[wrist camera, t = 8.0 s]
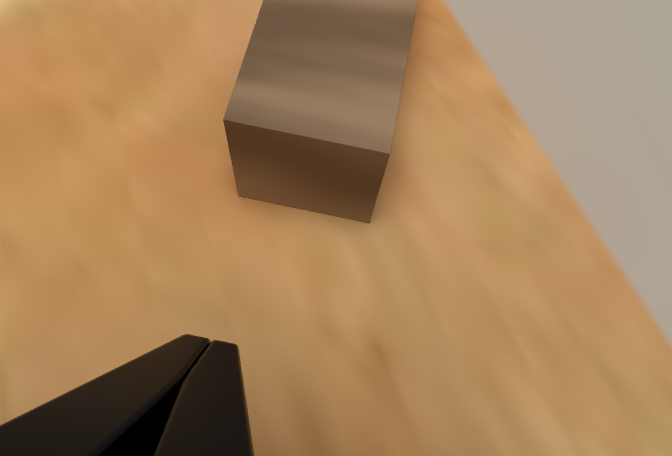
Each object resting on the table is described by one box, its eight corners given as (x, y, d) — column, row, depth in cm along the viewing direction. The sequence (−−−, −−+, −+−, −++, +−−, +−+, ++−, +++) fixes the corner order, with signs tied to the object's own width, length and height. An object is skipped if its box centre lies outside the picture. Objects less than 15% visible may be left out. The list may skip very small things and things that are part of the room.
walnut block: (389, 153, 16) (437, -111, 21) (223, 119, 16) (309, -137, 21) (368, 223, 21) (412, -8, 26) (238, 196, 21) (306, -29, 26)
